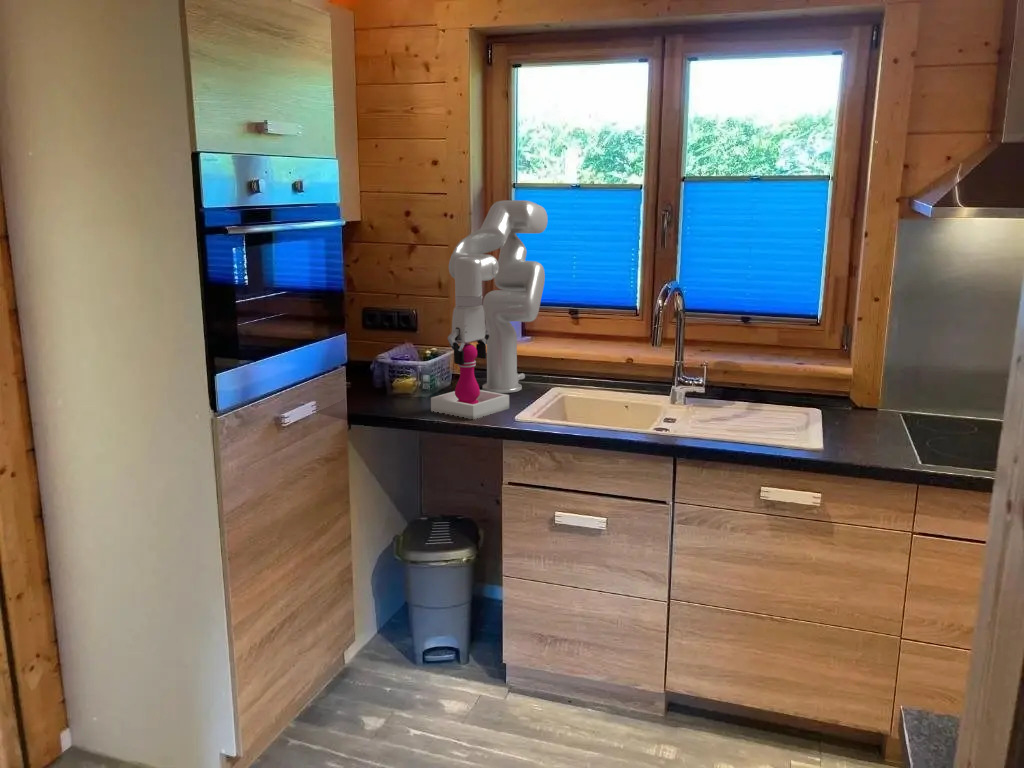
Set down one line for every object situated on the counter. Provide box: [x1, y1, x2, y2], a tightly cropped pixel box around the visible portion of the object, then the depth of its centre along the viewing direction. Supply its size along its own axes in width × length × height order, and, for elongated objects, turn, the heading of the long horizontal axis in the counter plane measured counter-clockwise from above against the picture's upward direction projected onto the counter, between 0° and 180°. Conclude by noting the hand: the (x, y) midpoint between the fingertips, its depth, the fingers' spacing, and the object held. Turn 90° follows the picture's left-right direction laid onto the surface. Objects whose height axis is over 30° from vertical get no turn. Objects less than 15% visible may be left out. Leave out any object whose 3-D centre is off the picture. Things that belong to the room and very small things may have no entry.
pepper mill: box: [454, 343, 481, 404], centre depth 238 cm, size 7×7×20 cm
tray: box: [430, 389, 510, 421], centre depth 241 cm, size 16×16×4 cm
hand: (470, 361), depth 239 cm, fingers open, 9 cm apart
